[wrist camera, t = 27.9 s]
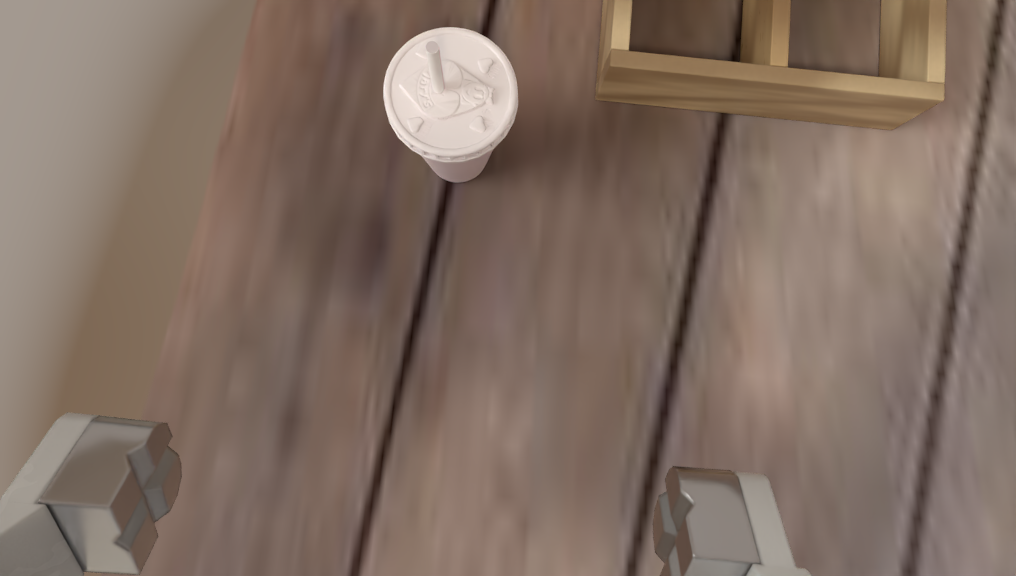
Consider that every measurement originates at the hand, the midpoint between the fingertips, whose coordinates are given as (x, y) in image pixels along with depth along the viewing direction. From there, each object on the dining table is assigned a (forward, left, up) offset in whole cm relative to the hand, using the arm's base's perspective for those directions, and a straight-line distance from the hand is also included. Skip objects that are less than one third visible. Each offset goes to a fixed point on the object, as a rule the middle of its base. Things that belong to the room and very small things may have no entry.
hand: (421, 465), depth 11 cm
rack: (+1, -28, -29) cm, 41 cm away
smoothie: (+10, -10, -30) cm, 33 cm away
